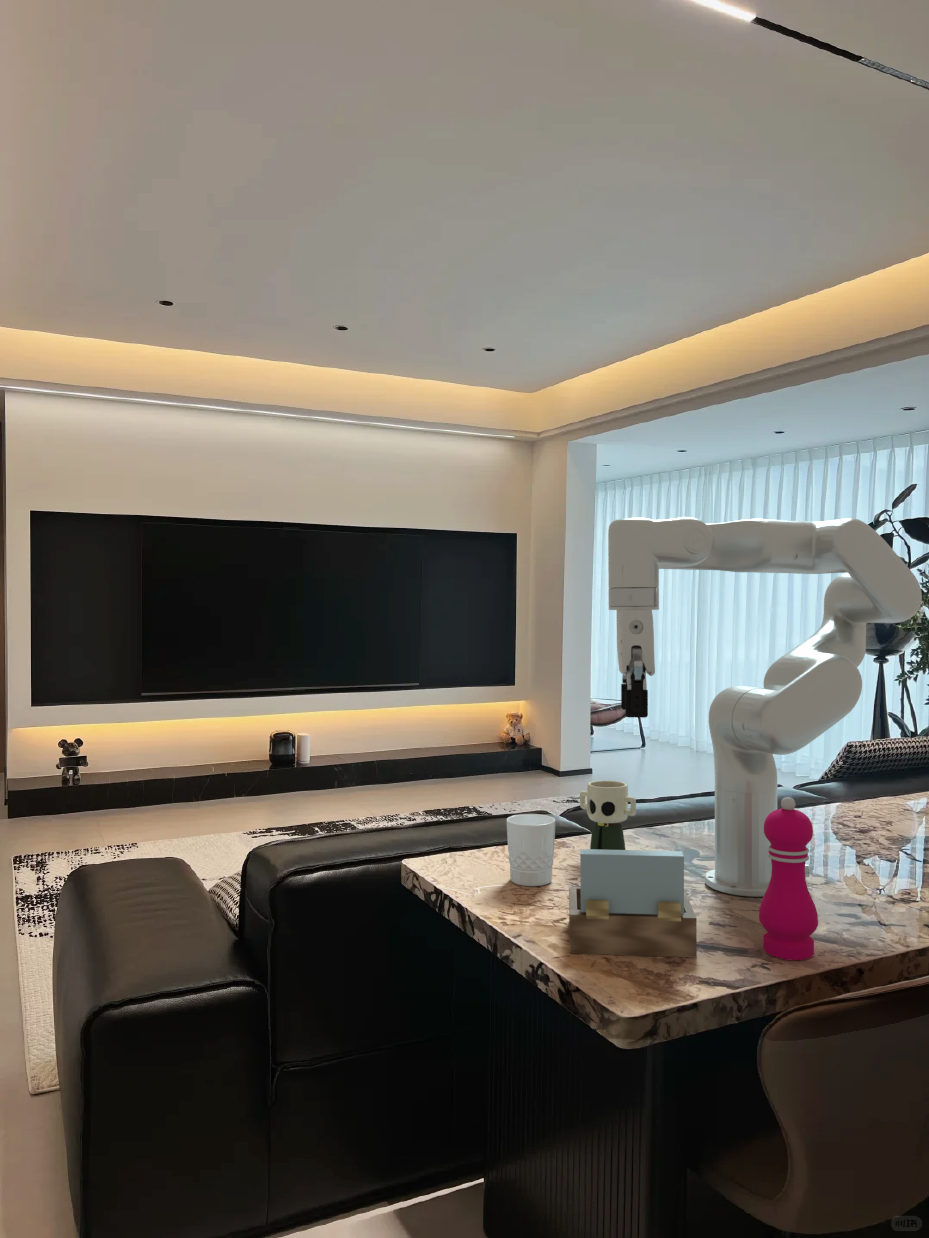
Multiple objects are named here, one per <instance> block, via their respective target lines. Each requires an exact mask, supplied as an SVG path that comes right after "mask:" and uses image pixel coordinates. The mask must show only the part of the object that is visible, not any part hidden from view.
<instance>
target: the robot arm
mask: <svg viewBox="0 0 929 1238" xmlns="http://www.w3.org/2000/svg"><path fill="white" fill-rule="evenodd" d="M607 533H608V534H607V535H608V536H607V537H608V538H607V541H608V542H607V543H608V544H607V545H608V546H607V547H608V548H607V549H608V550H607V551H608V554H607V555H608V557H607V559H608V560H607V561H608V611H616V648H617V649H616V651H617V663H618V671H619V672H620V673H621V674H622V681H621V682H622V683H621V684H620V691H621V692H620V693H621V694H620V697H621V698H620V699H621V700H620V701H621V703H620V705H621V706H620V707H621V709H622V710H624V711H625V714H624V715H625V717H627V718H641V719H642V718H644V719H645V718H647V717H648V716H649V702H648V701H649V692H648V691H649V690H648V689H647V684H648V683H647V675H648V676H650V677H652V676H654V675H655V674H656V666H655V665H656V664H655V631H654V629H655V628H654V617H653V615H654V614H653V611H655V610H656V611H657V610H660V586H659V585H660V584H659V583H660V575H659V574H660V570H686V571H689V570H691V571H692V570H693V571H695V570H696V571H697V570H698V571H719V572H721V571H722V572H729V573H757V574H758V573H761V574H763V573H764V574H765V573H766V574H767V573H768V574H770V573H771V574H773V573H776V574H796V575H799V574H801V575H822V574H824V575H825V574H839V575H838V576H836V577H835V578H833V580H831V581H830V583H829V584H828V586H827V588H826V590H825V593H824V597H823V598H824V599H823V614H822V615H823V617H822V622H821V625H820V626H819V628H818V630H816V631H815V632H814V633H813V634H812V635H810V636H808V638H806V639H804V641H802V642H801V643H799V644H798V645H796V646H795V647H793V648H792V649H791V650H790V651H788V652H786V653H785V654H783V655H782V656H780V657H779V658H778V659H776V660H775V661H774V662H773V663H772V664H771V665H770V666H769V667H768V669H767V670H766V673H765V674H764V678H763V687H755V686H748V685H735V686H734V685H733V686H730V687H727V688H725V689H723V690H722V691H720V692H719V693H718V694H717V695H716V696H715V697H714V698H713V700H712V702H711V704H710V707H709V710H708V711H709V712H708V726H709V727H708V728H709V732H710V733H709V734H710V738H711V745H712V750H713V751H712V752H713V762H714V764H713V765H714V868H713V869H710V870H709V871H707V872H706V873H705V874H704V883H705V884H706V886H708V887H709V888H711V889H713V890H715V891H718V892H721V893H724V894H728V895H734V896H739V897H740V896H741V897H742V896H743V897H752V898H754V897H756V898H757V897H762V898H763V897H764V895H765V892H766V890H767V888H768V885H769V883H770V879H771V872H772V863H771V858H769V857H768V853H769V850H768V846H769V845H770V844H771V843H770V841H769V840H768V839H767V838H766V836H765V834H764V822H765V819H766V817H767V816H768V815H769V814H770V813H771V812H773V811H774V810H777V809H778V771H777V764H776V761H775V757H774V755H778V756H782V755H783V756H784V755H790V754H793V753H796V752H798V751H800V750H801V749H803V748H805V747H806V746H808V745H809V744H811V743H812V742H814V741H815V740H816V739H817V738H819V737H820V736H821V735H823V734H824V733H825V732H827V731H828V730H829V729H831V728H832V727H833V726H835V725H836V724H837V723H839V722H840V721H842V719H844V718H845V717H847V716H848V715H849V714H850V713H851V712H852V711H853V710H854V708H855V707H856V705H857V703H858V701H859V699H860V696H861V693H862V688H863V679H862V675H861V672H860V670H859V668H858V667H859V666H860V665H861V664H862V662H863V661H864V658H865V656H866V650H867V648H866V647H867V625H866V624H868V623H871V624H873V623H874V624H897V623H903V622H905V621H907V620H910V619H912V617H914V616H915V615H916V614H917V612H919V609H920V608H921V604H922V599H923V596H922V589H921V586H920V583H919V580H918V579H917V577H916V576H915V574H914V573H913V571H912V570H911V569H910V568H909V567H908V566H907V565H906V563H905V562H904V560H902V559H901V557H900V556H899V555H898V554H897V553H896V552H895V551H894V549H893V548H892V547H891V546H890V544H888V543H887V541H886V540H885V539H884V538H883V537H882V536H881V535H880V534H879V532H877V531H876V530H875V529H873V528H872V527H871V525H869V524H867V523H866V522H864V521H862V520H860V519H858V518H853V517H848V518H839V519H833V520H824V521H823V520H822V521H820V520H819V521H813V520H812V521H811V520H810V521H809V520H785V519H769V518H768V519H767V518H750V519H740V520H734V521H733V520H732V521H728V522H718V523H717V522H716V523H705V522H704V521H703V520H701V519H699V518H696V517H692V516H691V517H690V516H682V517H676V518H668V519H651V518H646V517H627V518H618V519H615V520H613V521H611V522H610V524H609V526H608V532H607ZM809 877H810V866H809V864H805V878H809Z"/></svg>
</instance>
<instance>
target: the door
mask: <svg viewBox="0 0 929 1238" xmlns="http://www.w3.org/2000/svg"><path fill="white" fill-rule="evenodd" d="M579 851H580V859H579V860H580V865H579V866H580V887H581V912H586V900H608V901H609V913H627V914H658V902H680V903H681V915H684V890H685V856H684V853H683V851H680V850H679V851H678V850H674V851H673V850H639V849H638V850H637V849H636V850H635V849H630V850H629V849H625V850H599V849H590V848H589V849H588V848H580V850H579Z"/></svg>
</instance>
